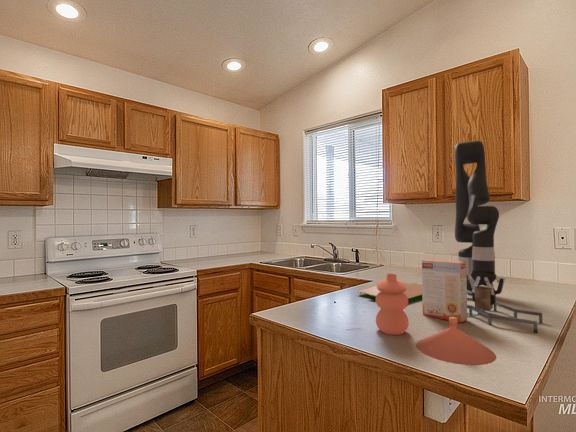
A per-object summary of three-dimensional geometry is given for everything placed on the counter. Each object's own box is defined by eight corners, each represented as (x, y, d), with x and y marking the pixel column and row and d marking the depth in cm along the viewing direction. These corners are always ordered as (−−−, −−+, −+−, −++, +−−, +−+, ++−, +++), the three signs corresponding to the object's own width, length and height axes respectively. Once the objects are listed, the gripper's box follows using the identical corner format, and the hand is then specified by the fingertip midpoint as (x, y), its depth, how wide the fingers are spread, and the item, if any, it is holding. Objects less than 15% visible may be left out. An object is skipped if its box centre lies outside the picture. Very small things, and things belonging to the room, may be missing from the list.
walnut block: (474, 308, 132) (474, 287, 132) (478, 306, 135) (478, 285, 135) (489, 310, 128) (489, 289, 128) (492, 308, 132) (492, 287, 132)
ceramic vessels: (511, 352, 94) (510, 283, 94) (477, 375, 80) (476, 294, 81) (397, 323, 121) (396, 269, 121) (358, 336, 107) (357, 276, 108)
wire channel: (432, 314, 130) (432, 305, 130) (451, 303, 146) (451, 295, 147) (537, 333, 109) (537, 322, 109) (545, 317, 125) (545, 307, 125)
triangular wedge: (353, 299, 157) (353, 281, 158) (394, 289, 179) (394, 273, 179) (398, 309, 140) (398, 289, 140) (437, 296, 162) (437, 279, 162)
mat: (448, 310, 135) (448, 310, 135) (456, 305, 144) (456, 304, 144) (476, 315, 129) (476, 314, 129) (483, 309, 137) (483, 308, 137)
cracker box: (468, 320, 123) (467, 261, 123) (460, 323, 119) (460, 262, 119) (429, 312, 134) (429, 258, 134) (422, 315, 130) (421, 259, 130)
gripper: (460, 258, 134) (460, 302, 134) (503, 261, 124) (503, 308, 124) (465, 256, 139) (466, 298, 139) (507, 259, 130) (507, 304, 130)
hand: (483, 303), depth 132 cm, fingers closed on walnut block, 5 cm apart
